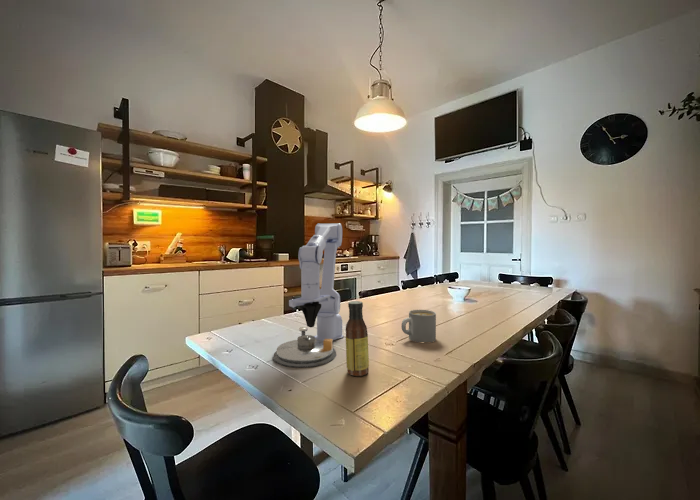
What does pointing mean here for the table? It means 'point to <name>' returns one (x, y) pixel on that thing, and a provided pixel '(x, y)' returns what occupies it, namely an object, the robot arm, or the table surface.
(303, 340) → the cover
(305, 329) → the small grey dumbbell
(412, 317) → the coffee mug
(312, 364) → the turntable base
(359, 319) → the sauce bottle
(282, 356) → the turntable
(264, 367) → the table surface
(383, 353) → the table surface
